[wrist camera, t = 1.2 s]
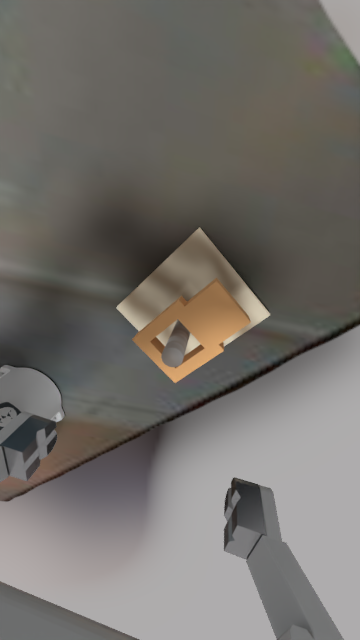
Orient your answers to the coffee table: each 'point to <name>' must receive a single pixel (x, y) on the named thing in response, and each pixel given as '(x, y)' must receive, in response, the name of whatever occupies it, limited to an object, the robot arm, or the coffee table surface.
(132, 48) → the coffee table surface
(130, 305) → the pipe stand
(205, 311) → the collar
